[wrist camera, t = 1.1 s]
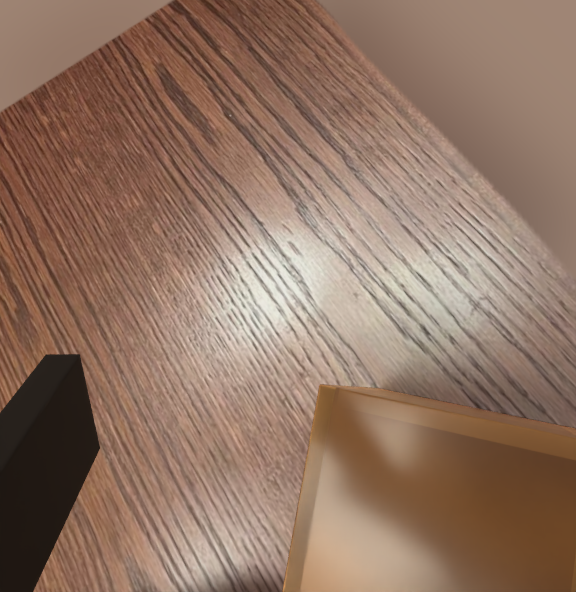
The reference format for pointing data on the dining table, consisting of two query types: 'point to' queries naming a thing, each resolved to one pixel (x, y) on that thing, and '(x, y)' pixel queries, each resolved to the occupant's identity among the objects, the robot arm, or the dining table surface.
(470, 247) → the dining table surface
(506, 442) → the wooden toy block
